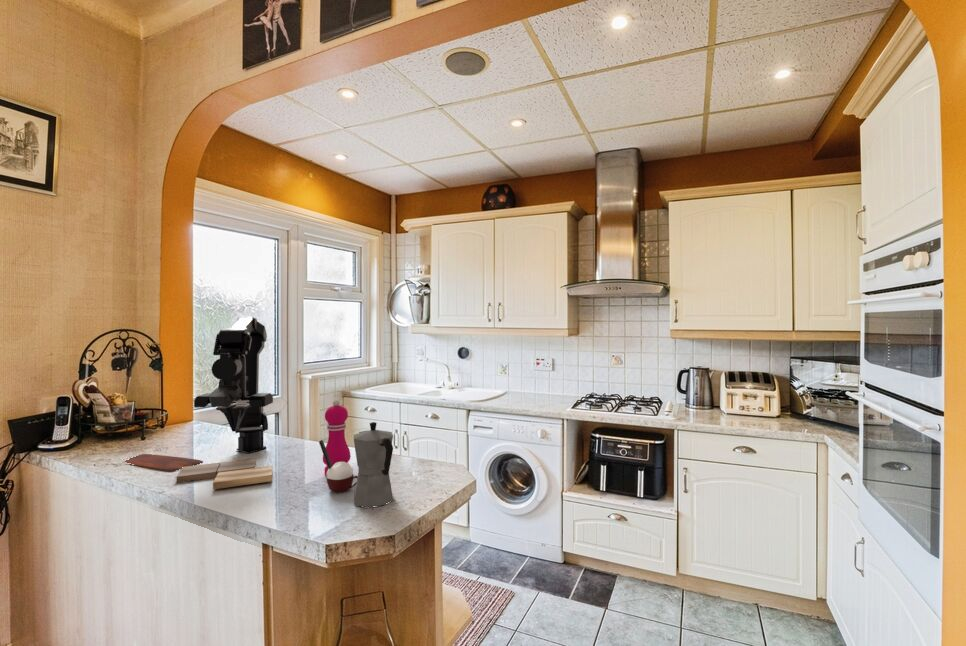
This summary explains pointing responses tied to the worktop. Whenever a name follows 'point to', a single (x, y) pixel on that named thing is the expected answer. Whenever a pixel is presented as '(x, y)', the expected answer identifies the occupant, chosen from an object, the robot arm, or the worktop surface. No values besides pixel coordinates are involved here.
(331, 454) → the pepper mill
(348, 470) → the cocoa
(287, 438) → the worktop surface
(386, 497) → the coffeepot
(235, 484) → the oak plank
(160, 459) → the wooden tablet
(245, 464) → the weathered wooden board
